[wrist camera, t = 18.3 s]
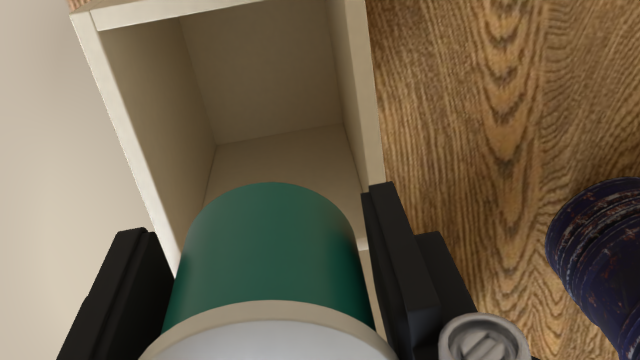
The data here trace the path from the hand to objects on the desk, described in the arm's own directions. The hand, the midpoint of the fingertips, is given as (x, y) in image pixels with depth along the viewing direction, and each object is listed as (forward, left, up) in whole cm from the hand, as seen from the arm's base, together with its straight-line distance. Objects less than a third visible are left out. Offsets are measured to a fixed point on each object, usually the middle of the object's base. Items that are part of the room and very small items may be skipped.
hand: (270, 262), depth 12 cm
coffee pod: (0, 0, 0) cm, 0 cm away
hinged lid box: (+1, -1, -21) cm, 21 cm away
